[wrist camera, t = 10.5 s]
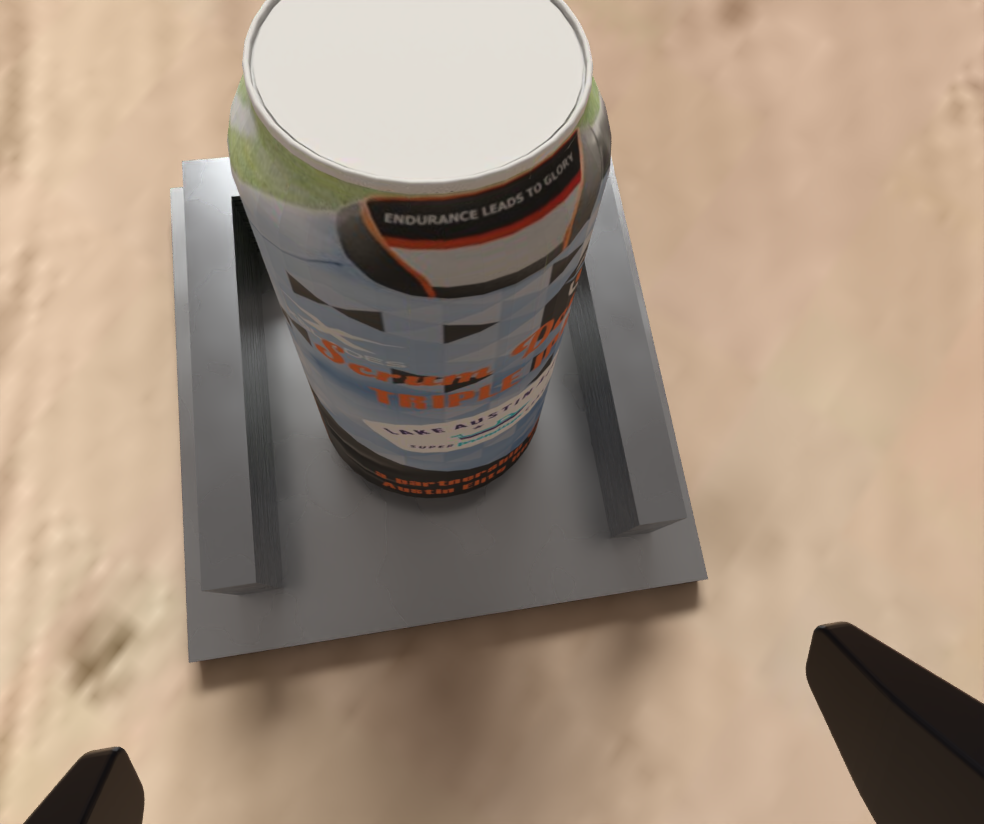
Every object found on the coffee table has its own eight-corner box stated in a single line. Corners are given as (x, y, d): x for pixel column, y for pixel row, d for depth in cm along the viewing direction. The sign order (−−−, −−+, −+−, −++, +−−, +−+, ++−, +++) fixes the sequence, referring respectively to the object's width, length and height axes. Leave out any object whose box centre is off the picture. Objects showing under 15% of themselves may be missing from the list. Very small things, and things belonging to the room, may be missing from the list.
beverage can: (356, 535, 19) (249, 407, 8) (292, 298, 21) (131, -85, 10) (571, 470, 20) (750, 273, 9) (493, 248, 22) (558, -151, 11)
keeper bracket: (698, 580, 21) (753, 572, 17) (198, 660, 19) (142, 670, 15) (602, 156, 24) (631, 75, 21) (178, 194, 23) (129, 114, 19)
